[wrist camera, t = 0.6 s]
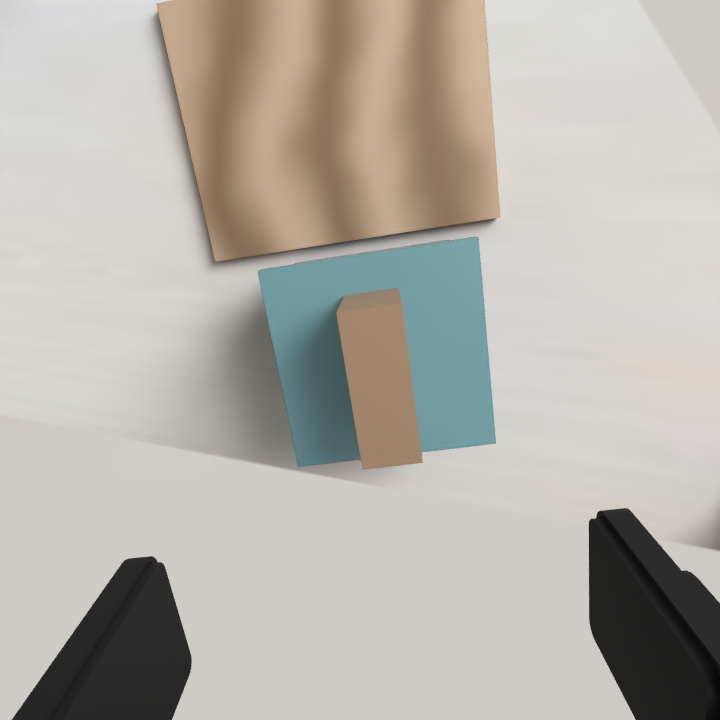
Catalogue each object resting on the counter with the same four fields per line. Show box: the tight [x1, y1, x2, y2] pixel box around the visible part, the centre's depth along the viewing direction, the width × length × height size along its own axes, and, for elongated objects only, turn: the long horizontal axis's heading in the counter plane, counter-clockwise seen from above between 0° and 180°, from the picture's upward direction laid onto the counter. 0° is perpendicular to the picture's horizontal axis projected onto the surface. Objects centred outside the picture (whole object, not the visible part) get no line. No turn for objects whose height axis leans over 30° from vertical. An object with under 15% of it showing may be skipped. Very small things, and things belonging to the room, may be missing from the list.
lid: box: [258, 237, 496, 469], centre depth 27 cm, size 12×12×8 cm
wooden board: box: [156, 0, 500, 262], centre depth 33 cm, size 20×16×1 cm
